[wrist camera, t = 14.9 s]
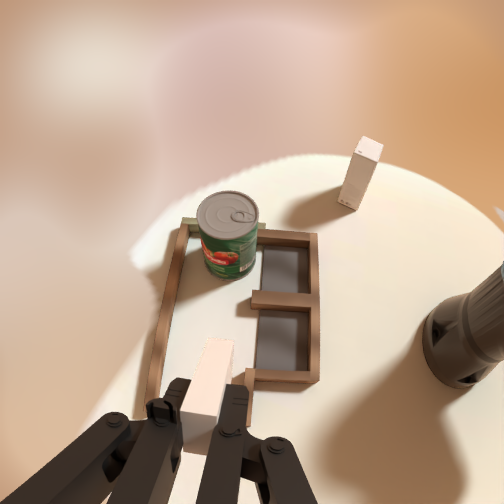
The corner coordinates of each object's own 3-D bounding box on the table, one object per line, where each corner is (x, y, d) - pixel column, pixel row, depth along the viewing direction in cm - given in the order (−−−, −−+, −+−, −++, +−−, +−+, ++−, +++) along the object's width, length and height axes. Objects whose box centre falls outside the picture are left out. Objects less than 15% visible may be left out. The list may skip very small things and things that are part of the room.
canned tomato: (198, 274, 47) (187, 231, 37) (212, 233, 51) (206, 186, 41) (249, 286, 46) (251, 244, 37) (260, 242, 50) (264, 195, 41)
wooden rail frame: (313, 428, 35) (317, 428, 33) (148, 412, 35) (143, 411, 33) (314, 235, 51) (316, 227, 49) (184, 225, 51) (182, 217, 50)
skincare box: (357, 211, 54) (377, 163, 44) (336, 202, 55) (352, 152, 45) (365, 191, 57) (384, 144, 47) (345, 182, 58) (361, 134, 48)
